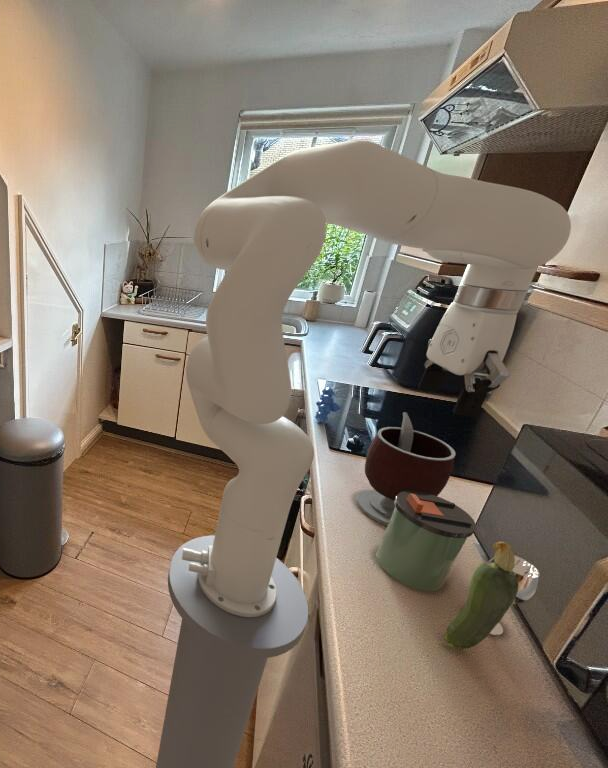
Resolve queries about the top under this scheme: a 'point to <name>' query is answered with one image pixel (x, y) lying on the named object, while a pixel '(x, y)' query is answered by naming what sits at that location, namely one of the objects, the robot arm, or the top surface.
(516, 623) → the top surface
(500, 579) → the vegetable
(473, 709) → the top surface
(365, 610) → the top surface
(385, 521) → the mate gourd
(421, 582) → the travel mug
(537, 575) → the wineglass
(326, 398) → the grapes
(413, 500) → the shutter
